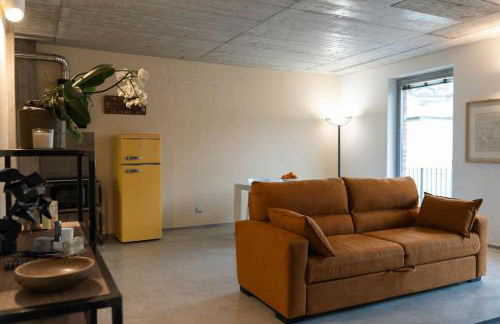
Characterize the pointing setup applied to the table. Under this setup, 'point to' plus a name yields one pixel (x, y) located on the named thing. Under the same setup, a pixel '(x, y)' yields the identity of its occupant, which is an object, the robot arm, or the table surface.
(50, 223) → the candy box
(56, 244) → the dark knobbed lever handle
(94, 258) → the table surface
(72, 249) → the base
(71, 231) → the shot glass
